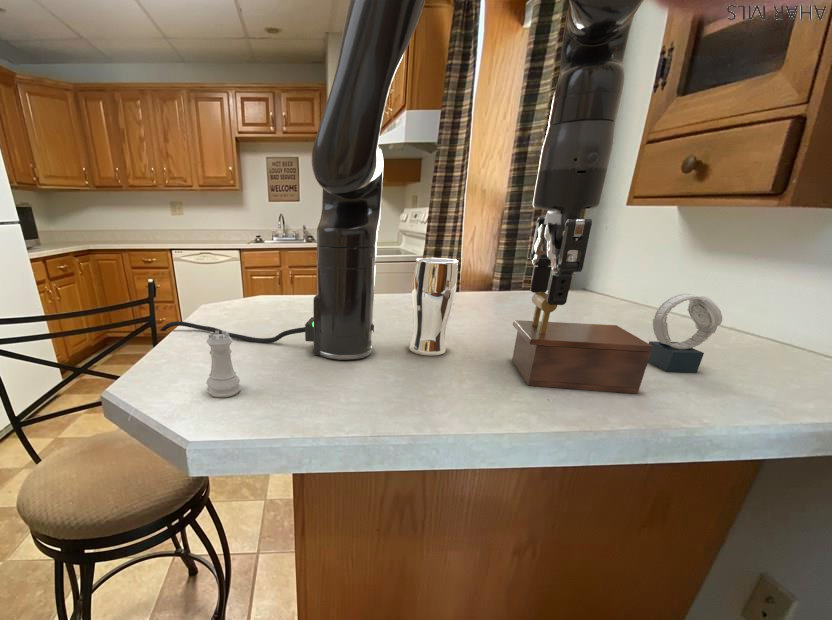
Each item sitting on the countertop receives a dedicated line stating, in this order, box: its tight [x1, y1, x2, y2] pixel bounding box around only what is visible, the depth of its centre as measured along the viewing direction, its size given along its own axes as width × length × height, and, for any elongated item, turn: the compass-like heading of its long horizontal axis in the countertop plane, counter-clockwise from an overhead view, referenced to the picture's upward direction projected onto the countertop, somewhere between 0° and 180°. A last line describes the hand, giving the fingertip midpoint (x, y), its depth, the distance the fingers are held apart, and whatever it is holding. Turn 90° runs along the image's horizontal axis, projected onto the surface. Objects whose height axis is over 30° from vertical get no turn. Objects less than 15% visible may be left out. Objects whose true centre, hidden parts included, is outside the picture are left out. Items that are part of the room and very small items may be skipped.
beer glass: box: [408, 257, 459, 357], centre depth 70 cm, size 7×7×15 cm
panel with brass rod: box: [512, 292, 653, 352], centre depth 59 cm, size 14×11×6 cm
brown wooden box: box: [511, 330, 651, 395], centre depth 61 cm, size 14×11×6 cm
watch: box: [648, 293, 723, 374], centre depth 64 cm, size 6×8×11 cm
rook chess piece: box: [206, 330, 242, 398], centre depth 54 cm, size 4×4×8 cm
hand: (546, 298), depth 59 cm, fingers open, 8 cm apart
